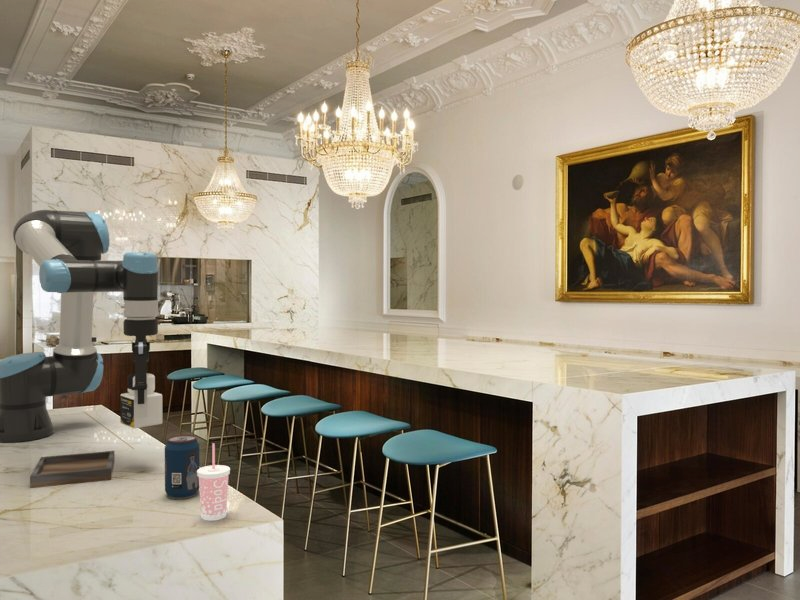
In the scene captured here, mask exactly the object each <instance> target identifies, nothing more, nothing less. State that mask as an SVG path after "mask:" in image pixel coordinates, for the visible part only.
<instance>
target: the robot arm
mask: <svg viewBox="0 0 800 600" xmlns="http://www.w3.org/2000/svg"><path fill="white" fill-rule="evenodd" d="M12 238H13V242H14V244H15V245H16V246H17V248H18V249H19V250H21V251H22V253H24V254H27V255H29V256H30V257H31V258H32V259H33V261H34V262H35V263H36V264H37V266H38V267H39V273H38V278H39V284H40V288H41V289H42V291H44V292H46V293H57V294H60V309H59V311H60V315H59V318H60V319H59V339H58V340H59V342H58V344H57V345H56V346H55V347H54V348H53V349H52V356H51V355H50V356H46V354H45V352H44V351H35V352H25V353H19V354H14V355H10V356H7V357H5V358H3V359H2V360H0V443H19V442H27V441H35V440H40V439H42V438H43V439H44V438H47V437H49V436H51V435H53V433H54V424H53V422H52V419H51V416H50V414H49V412H48V409H47V404H46V403H47V401H46V398H49V397H56V396H58V397H59V396H66V395H74V394H78V395H81V394H83V393H89V392H94V391H95V390H96V389H97V388H98V387H99V386H100V385H101V383H102V379H103V374H104V364H103V363H104V359H103V356H102V355H101V354H100V353H98V349H97V348H96V346H94V345H93V343H92V342H93V341H92V338H93V321H94V320H93V318H94V317H93V316H94V293H101V292H103V293H113V292H114V293H115V292H116V293H117V292H118V293H119V292H121V293H122V292H123V296H122V297H123V303H122V304H121V305H120V308H121V309H123V317H124V318H126V319H124V320H123V335H125V336H128V337H135V341H134V342H131V351H132V362H133V363H134V373H135V385H134V387H132V390H135V418H146V417H147V373H148V371H147V368H148V367H147V363H148V362H149V359H150V353H149V352H150V350H151V342H150V341H148V340H147V336H149V337H151V336H155V335H157V334H158V333H159V320H157V317H158V316H159V299H158V293H159V291H158V290H159V288H158V286H159V285H158V284H159V281H158V278H159V272H158V271H159V266H158V257H157V255H156V254H155V253H154V252H125V253H124V254H123V258H122V260H102V255H105V254H106V253H108V251H109V248H110V232H109V228H108V225H107V223H106V220H105V219H104V217H103V216H102V215H100V214H99V213H95V212H89V211H88V212H86V211H75V210H74V211H69V210H52V209H39V210H35V211H31V212H29V213H26V214H25V215H24V216H22V217H21V218H20V219H19V220H17V222H16V223H15V225H14V226H13V230H12Z"/></svg>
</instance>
